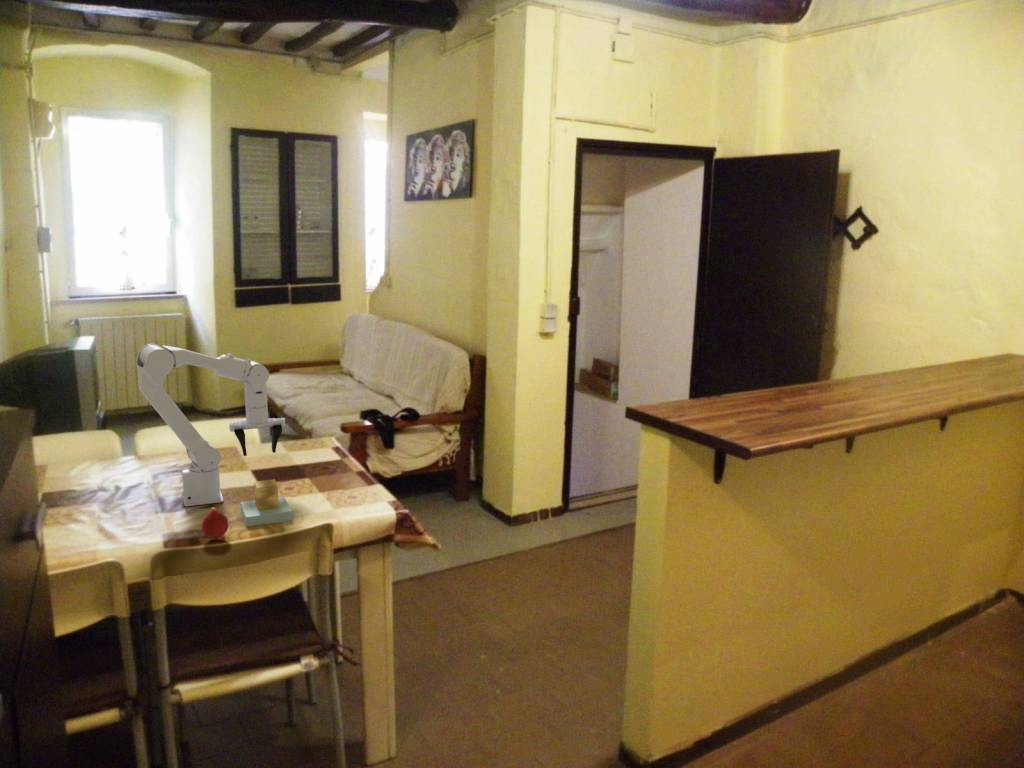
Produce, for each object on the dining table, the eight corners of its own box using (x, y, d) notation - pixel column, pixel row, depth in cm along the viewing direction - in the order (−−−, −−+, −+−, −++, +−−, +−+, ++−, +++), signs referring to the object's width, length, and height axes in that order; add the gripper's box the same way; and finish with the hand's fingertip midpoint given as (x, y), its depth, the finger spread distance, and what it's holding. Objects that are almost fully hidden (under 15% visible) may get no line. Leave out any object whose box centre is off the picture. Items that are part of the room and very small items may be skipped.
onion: (232, 534, 185) (230, 503, 183) (224, 544, 179) (222, 512, 177) (207, 534, 185) (205, 502, 183) (198, 544, 179) (196, 511, 177)
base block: (246, 528, 190) (245, 517, 189) (240, 513, 200) (240, 502, 199) (292, 522, 195) (291, 511, 194) (284, 507, 204) (284, 496, 204)
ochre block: (258, 510, 194) (257, 488, 192) (255, 503, 198) (254, 481, 197) (278, 507, 196) (277, 485, 195) (275, 501, 200) (274, 479, 199)
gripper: (229, 411, 203) (233, 460, 207) (286, 406, 210) (288, 454, 213) (227, 405, 210) (230, 453, 213) (282, 400, 216) (284, 447, 219)
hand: (259, 453), depth 213 cm, fingers open, 7 cm apart
